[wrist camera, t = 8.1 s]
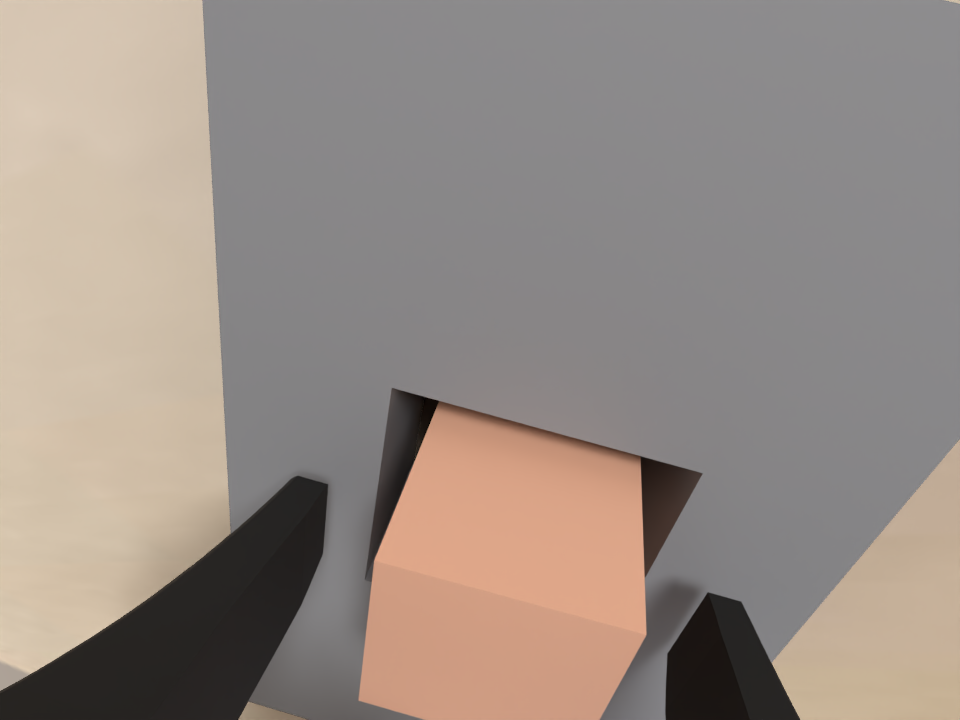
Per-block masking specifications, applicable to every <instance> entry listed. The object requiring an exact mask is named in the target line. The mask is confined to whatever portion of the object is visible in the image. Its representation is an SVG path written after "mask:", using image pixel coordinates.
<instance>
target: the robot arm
mask: <svg viewBox="0 0 960 720" xmlns="http://www.w3.org/2000/svg"><path fill="white" fill-rule="evenodd" d="M327 495H328V484H326V483H322V482H318V481H315V480H311V479H308V478H304V477H301V476H295V477H293V478H291V479H290V480H289V481H288V482H287V483H286V484H285V485H284V486H283V487H282V488H281V489H280V490H279V491H278V492H277V493H276V494H275V495H274V496H273V497H272V498H271V499H269V500H268V501H267V502H266V503H265V504H264V505H263V506H262V507H261V508H260V509H259V510H257V511H256V512H255V513H254V514H253V515H252V516H251V517H250V518H249V519H247V520H246V521H245V522H244V523H243V524H242V525H241V526H240V527H238V528H237V529H236V530H235V531H234V532H232V533H231V534H230V535H229V536H228V537H226V538H225V539H224V540H223V541H222V542H221V543H219V544H218V545H217V546H216V547H215V548H213V549H212V550H211V551H210V552H209V553H207V554H206V555H205V556H204V557H202V558H201V559H200V560H199V561H197V562H196V563H195V564H194V565H192V566H191V567H190V568H188V569H187V570H186V571H184V572H183V573H182V574H181V575H179V576H178V577H177V578H175V579H174V580H173V581H171V582H170V583H169V584H167V585H166V586H165V587H163V588H162V589H161V590H159V591H158V592H157V593H155V594H154V595H153V596H151V597H150V598H149V599H147V600H146V601H144V602H143V603H142V604H140V605H139V606H137V607H136V608H134V609H133V610H132V611H130V612H129V613H127V614H126V615H124V616H123V617H121V618H120V619H118V620H117V621H115V622H114V623H112V624H111V625H109V626H108V627H106V628H105V629H103V630H102V631H100V632H99V633H97V634H96V635H94V636H93V637H91V638H89V639H88V640H86V641H85V642H83V643H81V644H80V645H78V646H76V647H75V648H73V649H72V650H70V651H68V652H67V653H65V654H63V655H62V656H60V657H59V658H57V659H55V660H54V661H52V662H50V663H49V664H47V665H45V666H44V667H42V668H40V669H39V670H37V671H35V672H33V673H32V674H30V675H28V676H27V677H25V678H23V679H22V680H20V681H18V682H16V683H14V684H12V685H11V686H9V687H7V688H5V689H3V690H1V691H0V720H238V719H239V717H240V715H241V713H242V712H243V710H244V708H245V706H246V704H247V703H248V701H249V699H250V697H251V695H252V694H253V692H254V690H255V688H256V686H257V685H258V683H259V681H260V679H261V677H262V676H263V674H264V672H265V670H266V668H267V667H268V665H269V663H270V661H271V659H272V658H273V656H274V654H275V652H276V650H277V649H278V647H279V645H280V643H281V641H282V640H283V638H284V636H285V634H286V632H287V631H288V629H289V627H290V625H291V623H292V621H293V620H294V618H295V616H296V614H297V612H298V610H299V609H300V607H301V605H302V603H303V600H304V598H305V596H306V593H307V591H308V589H309V586H310V584H311V582H312V579H313V577H314V574H315V572H316V570H317V567H318V565H319V562H320V560H321V558H322V555H323V548H324V535H325V521H326V508H327ZM665 716H666V720H800V718H799V716H798V714H797V713H796V711H795V709H794V707H793V705H792V703H791V701H790V699H789V697H788V695H787V693H786V691H785V689H784V687H783V685H782V683H781V681H780V679H779V677H778V675H777V673H776V671H775V669H774V667H773V665H772V663H771V661H770V659H769V657H768V655H767V653H766V651H765V649H764V647H763V645H762V643H761V641H760V639H759V636H758V634H757V632H756V630H755V628H754V626H753V624H752V622H751V620H750V618H749V616H748V614H747V612H746V610H745V608H744V606H743V604H742V602H741V601H738V600H734V599H731V598H727V597H723V596H720V595H716V594H713V593H709V592H708V593H707V594H706V596H705V597H704V599H703V600H702V602H701V603H700V605H699V606H698V608H697V609H696V611H695V612H694V614H693V615H692V617H691V618H690V620H689V621H688V623H687V625H686V626H685V628H684V629H683V631H682V632H681V634H680V635H679V637H678V638H677V640H676V641H675V643H674V644H673V646H672V647H671V649H670V650H669V652H668V653H667V671H666V699H665Z"/></svg>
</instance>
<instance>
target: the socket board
mask: <svg viewBox="0 0 960 720" xmlns="http://www.w3.org/2000/svg"><path fill="white" fill-rule="evenodd" d="M203 19H204V38H205V56H206V75H207V94H208V113H209V132H210V150H211V169H212V188H213V207H214V226H215V244H216V263H217V282H218V301H219V320H220V338H221V357H222V376H223V395H224V414H225V432H226V451H227V470H228V489H229V508H230V526H231V533H232V532H234V531H235V530H236V529H237V528H238V527H240V526H241V525H242V524H243V523H244V522H245V521H246V520H247V519H249V518H250V517H251V516H252V515H253V514H254V513H255V512H256V511H257V510H259V509H260V508H261V507H262V506H263V505H264V504H265V503H266V502H267V501H268V500H269V499H271V498H272V497H273V496H274V495H275V494H276V493H277V492H278V491H279V490H280V489H281V488H282V487H283V486H284V485H285V484H286V483H287V482H288V481H289V480H290V479H291V478H293V477H295V476H301V477H304V478H308V479H311V480H315V481H318V482H322V483H326V484H328V495H327V508H326V521H325V535H324V548H323V555H322V558H321V560H320V562H319V565H318V567H317V570H316V572H315V574H314V577H313V579H312V582H311V584H310V586H309V589H308V591H307V593H306V596H305V598H304V600H303V603H302V605H301V607H300V609H299V610H298V612H297V614H296V616H295V618H294V620H293V621H292V623H291V625H290V627H289V629H288V631H287V632H286V634H285V636H284V638H283V640H282V641H281V643H280V645H279V647H278V649H277V650H276V652H275V654H274V656H273V658H272V659H271V661H270V663H269V665H268V667H267V668H266V670H265V672H264V674H263V676H262V677H261V679H260V681H259V683H258V685H257V686H256V688H255V690H254V692H253V694H252V695H251V697H250V699H249V702H252V703H255V704H259V705H262V706H265V707H269V708H272V709H275V710H278V711H282V712H285V713H288V714H292V715H295V716H298V717H301V718H305V719H308V720H424V719H421V718H417V717H414V716H410V715H407V714H403V713H400V712H396V711H393V710H390V709H386V708H383V707H379V706H376V705H372V704H369V703H365V702H362V701H358V700H359V692H360V683H361V674H362V665H363V656H364V647H365V638H366V629H367V620H368V611H369V602H370V594H371V585H372V576H373V567H374V560H375V557H376V555H377V553H378V550H379V548H380V545H381V543H382V540H383V538H384V535H385V533H386V530H387V528H388V526H389V523H390V521H391V518H392V516H393V513H394V511H395V508H396V506H397V503H398V501H399V499H400V496H401V494H402V491H403V489H404V486H405V484H406V481H407V479H408V476H409V474H410V472H411V469H412V467H413V464H414V462H413V460H414V454H415V449H416V443H417V438H418V432H419V427H420V421H421V415H422V410H423V404H424V399H425V397H427V398H431V399H434V400H438V401H442V402H445V403H449V404H453V405H456V406H460V407H463V408H467V409H471V410H474V411H478V412H482V413H485V414H489V415H493V416H496V417H500V418H504V419H507V420H511V421H514V422H518V423H522V424H525V425H529V426H533V427H536V428H540V429H544V430H547V431H551V432H555V433H558V434H562V435H565V436H569V437H573V438H576V439H580V440H584V441H587V442H591V443H595V444H598V445H602V446H605V447H609V448H613V449H616V450H620V451H624V452H627V453H631V454H635V455H638V456H640V458H641V488H642V517H643V546H644V576H645V605H646V637H645V639H644V640H643V642H642V644H641V646H640V648H639V649H638V651H637V653H636V655H635V657H634V658H633V660H632V662H631V664H630V666H629V667H628V669H627V671H626V673H625V675H624V676H623V678H622V680H621V682H620V684H619V685H618V687H617V689H616V691H615V693H614V694H613V696H612V698H611V700H610V702H609V703H608V705H607V707H606V709H605V711H604V712H603V714H602V716H601V718H600V720H666V716H665V699H666V671H667V653H668V652H669V650H670V649H671V647H672V646H673V644H674V643H675V641H676V640H677V638H678V637H679V635H680V634H681V632H682V631H683V629H684V628H685V626H686V625H687V623H688V621H689V620H690V618H691V617H692V615H693V614H694V612H695V611H696V609H697V608H698V606H699V605H700V603H701V602H702V600H703V599H704V597H705V596H706V594H707V593H708V592H709V593H713V594H716V595H720V596H723V597H727V598H731V599H734V600H738V601H741V602H742V604H743V606H744V608H745V610H746V612H747V614H748V616H749V618H750V620H751V622H752V624H753V626H754V628H755V630H756V632H757V634H758V636H759V639H760V641H761V643H762V645H763V647H764V649H765V651H766V653H767V655H768V657H769V659H770V661H771V663H772V661H773V660H774V659H775V658H776V657H777V655H778V654H779V653H780V652H781V651H782V650H783V648H784V647H785V646H786V645H787V644H788V642H789V641H790V640H791V639H792V638H793V636H794V635H795V634H796V633H797V632H798V631H799V629H800V628H801V627H802V626H803V625H804V623H805V622H806V621H807V620H808V619H809V617H810V616H811V615H812V614H813V613H814V612H815V610H816V609H817V608H818V607H819V606H820V604H821V603H822V602H823V601H824V600H825V598H826V597H827V596H828V595H829V594H830V592H831V591H832V590H833V589H834V588H835V587H836V585H837V584H838V583H839V582H840V581H841V579H842V578H843V577H844V576H845V575H846V573H847V572H848V571H849V570H850V569H851V568H852V566H853V565H854V564H855V563H856V562H857V560H858V559H859V558H860V557H861V556H862V554H863V553H864V552H865V551H866V550H867V549H868V547H869V546H870V545H871V544H872V543H873V541H874V540H875V539H876V538H877V537H878V535H879V534H880V533H881V532H882V531H883V530H884V528H885V527H886V526H887V525H888V524H889V522H890V521H891V520H892V519H893V518H894V516H895V515H896V514H897V513H898V512H899V511H900V509H901V508H902V507H903V506H904V505H905V503H906V502H907V501H908V500H909V499H910V497H911V496H912V495H913V494H914V493H915V492H916V490H917V489H918V488H919V487H920V486H921V484H922V483H923V482H924V481H925V480H926V478H927V477H928V476H929V475H930V474H931V472H932V471H933V470H934V469H935V468H936V467H937V465H938V464H939V463H940V462H941V461H942V459H943V458H944V457H945V456H946V455H947V453H948V452H949V451H950V450H951V449H952V448H953V446H954V445H955V444H956V443H957V442H958V440H959V439H960V4H958V3H953V2H949V1H945V0H203Z"/></svg>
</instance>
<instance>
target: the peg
mask: <svg viewBox="0 0 960 720" xmlns="http://www.w3.org/2000/svg"><path fill="white" fill-rule="evenodd" d="M645 637H646V605H645V576H644V546H643V517H642V488H641V458H640V456H638V455H635V454H631V453H627V452H624V451H620V450H616V449H613V448H609V447H605V446H602V445H598V444H595V443H591V442H587V441H584V440H580V439H576V438H573V437H569V436H565V435H562V434H558V433H555V432H551V431H547V430H544V429H540V428H536V427H533V426H529V425H525V424H522V423H518V422H514V421H511V420H507V419H504V418H500V417H496V416H493V415H489V414H485V413H482V412H478V411H474V410H471V409H467V408H463V407H460V406H456V405H453V404H449V403H445V402H442V401H439V403H438V405H437V408H436V410H435V413H434V415H433V418H432V420H431V422H430V425H429V427H428V430H427V432H426V435H425V437H424V440H423V442H422V445H421V447H420V449H419V452H418V454H417V457H416V459H415V462H414V464H413V467H412V469H411V472H410V474H409V476H408V479H407V481H406V484H405V486H404V489H403V491H402V494H401V496H400V499H399V501H398V503H397V506H396V508H395V511H394V513H393V516H392V518H391V521H390V523H389V526H388V528H387V530H386V533H385V535H384V538H383V540H382V543H381V545H380V548H379V550H378V553H377V555H376V557H375V560H374V567H373V576H372V585H371V594H370V602H369V611H368V620H367V629H366V638H365V647H364V656H363V665H362V674H361V683H360V692H359V700H358V701H362V702H365V703H369V704H372V705H376V706H379V707H383V708H386V709H390V710H393V711H396V712H400V713H403V714H407V715H410V716H414V717H417V718H421V719H424V720H600V718H601V716H602V714H603V712H604V711H605V709H606V707H607V705H608V703H609V702H610V700H611V698H612V696H613V694H614V693H615V691H616V689H617V687H618V685H619V684H620V682H621V680H622V678H623V676H624V675H625V673H626V671H627V669H628V667H629V666H630V664H631V662H632V660H633V658H634V657H635V655H636V653H637V651H638V649H639V648H640V646H641V644H642V642H643V640H644V639H645Z"/></svg>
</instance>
